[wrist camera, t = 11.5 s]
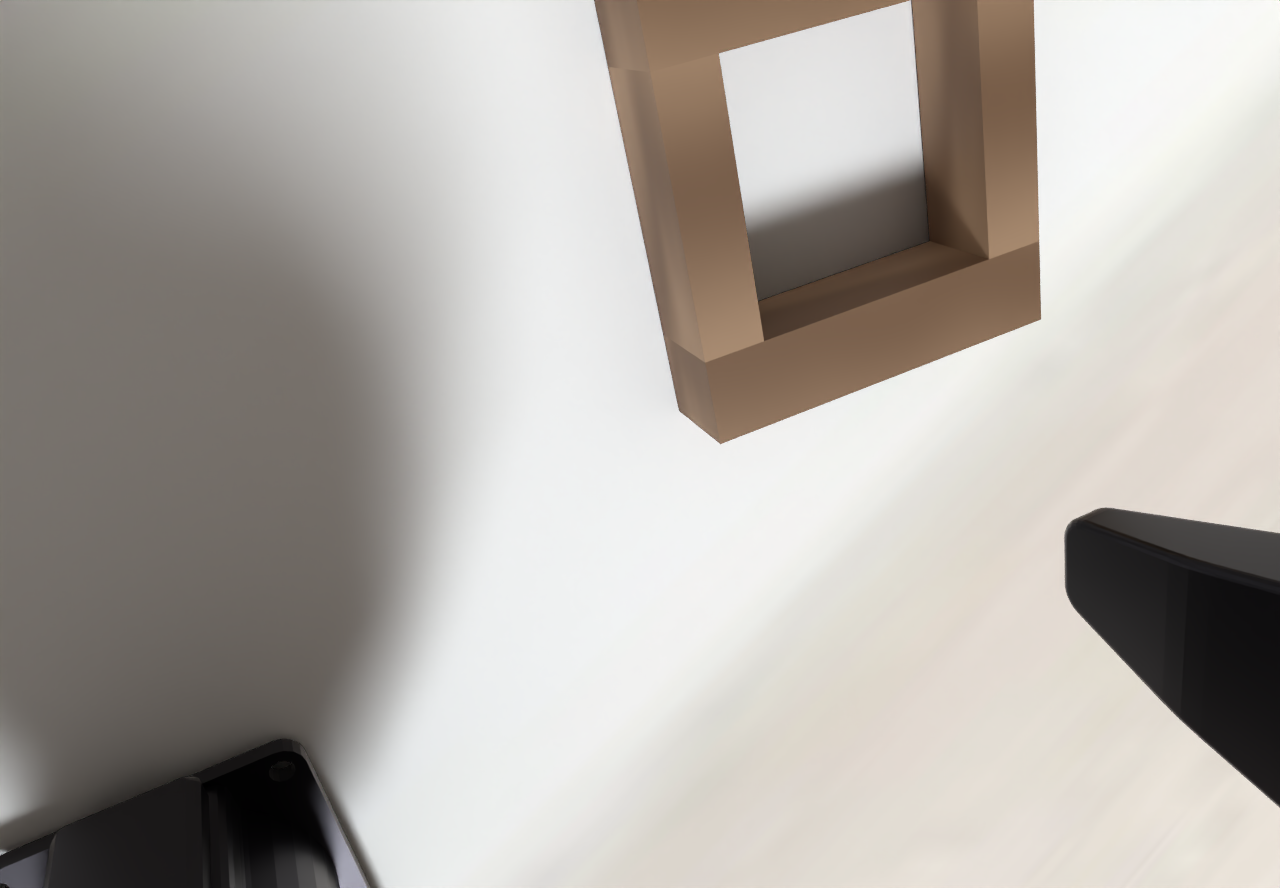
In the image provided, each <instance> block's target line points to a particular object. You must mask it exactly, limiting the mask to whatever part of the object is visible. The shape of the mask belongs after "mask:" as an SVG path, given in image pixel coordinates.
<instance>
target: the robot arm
mask: <svg viewBox="0 0 1280 888" xmlns="http://www.w3.org/2000/svg"><path fill="white" fill-rule="evenodd" d="M1064 545H1065V589H1066V593H1067V596H1068V598H1069V600H1070V602H1071V604H1072V605H1073V607H1074V608H1075V610H1076V611H1077V612H1078V613H1079V614H1080V615H1081V617H1082V618H1083V619H1084V620H1085V621H1086V622H1087V623H1088V624H1089V625H1090V626H1091V627H1092V628H1093V629H1094V630H1095V631H1096V632H1097V633H1098V634H1099V636H1100V637H1101V638H1102V639H1103V640H1104V641H1105V642H1106V643H1107V644H1108V645H1109V646H1110V647H1111V648H1112V649H1113V650H1114V651H1115V652H1116V653H1117V655H1118V656H1119V657H1120V658H1121V659H1122V660H1123V661H1124V662H1125V663H1126V664H1127V665H1128V666H1129V667H1130V668H1131V669H1132V670H1133V671H1134V672H1135V674H1136V675H1137V676H1138V677H1139V678H1140V679H1141V680H1142V681H1143V682H1144V683H1145V684H1146V685H1147V686H1148V687H1149V688H1150V689H1151V690H1152V691H1153V693H1154V694H1155V695H1156V696H1157V697H1158V698H1159V699H1160V700H1161V701H1162V702H1163V703H1164V704H1165V705H1166V706H1167V707H1168V708H1169V709H1170V710H1171V711H1172V712H1173V713H1174V714H1175V715H1176V716H1177V717H1178V718H1179V719H1180V720H1181V721H1182V722H1183V723H1184V724H1185V725H1187V726H1188V727H1189V728H1190V729H1191V730H1192V731H1193V732H1194V733H1195V734H1196V735H1198V736H1199V737H1200V738H1201V739H1202V740H1203V741H1204V742H1205V743H1207V744H1208V745H1209V746H1210V747H1211V748H1212V749H1213V750H1215V751H1216V752H1217V753H1218V754H1219V755H1220V756H1221V757H1223V758H1224V759H1225V760H1226V761H1227V762H1228V763H1229V764H1231V765H1232V766H1233V767H1234V768H1235V769H1236V770H1237V771H1239V772H1240V773H1241V774H1242V775H1243V776H1244V777H1245V778H1247V779H1248V780H1249V781H1250V782H1251V783H1252V784H1253V785H1255V786H1256V787H1257V788H1258V789H1259V790H1260V791H1261V792H1263V793H1264V794H1265V795H1266V796H1267V797H1268V798H1270V799H1271V800H1272V801H1273V802H1274V803H1275V804H1276V805H1278V806H1279V807H1280V533H1274V532H1267V531H1261V530H1254V529H1247V528H1241V527H1234V526H1227V525H1221V524H1214V523H1207V522H1201V521H1194V520H1187V519H1181V518H1174V517H1167V516H1161V515H1154V514H1147V513H1141V512H1134V511H1128V510H1121V509H1114V508H1100V509H1096V510H1094V511H1092V512H1090V513H1087V514H1085V515H1083V516H1081V517H1079V518H1076V519H1074V520H1073V521H1071V522H1070V523H1069V524H1068V526H1067V528H1066V530H1065V536H1064ZM280 761H289V762H291V765H289V766H288V767H286V768H284V769H279V770H278V769H274V768H272V766H273V765H274V764H276V763H277V762H280ZM0 883H2V884H6V885H7V886H8V887H6V888H371V887H370V885H369V883H368V881H367V879H366V877H365V875H364V873H363V871H362V868H361V866H360V864H359V862H358V860H357V858H356V856H355V854H354V852H353V850H352V847H351V845H350V843H349V841H348V839H347V837H346V835H345V833H344V831H343V829H342V827H341V824H340V822H339V820H338V818H337V816H336V814H335V812H334V810H333V808H332V806H331V803H330V801H329V799H328V797H327V795H326V793H325V791H324V789H323V787H322V785H321V783H320V780H319V778H318V776H317V774H316V772H315V770H314V768H313V766H312V764H311V762H310V760H309V757H308V755H307V753H306V751H305V749H304V748H303V747H302V745H301V744H300V743H298V742H296V741H294V740H291V739H280V740H276V741H272V742H270V743H267V744H265V745H262V746H260V747H258V748H255V749H253V750H250V751H248V752H246V753H243V754H241V755H239V756H236V757H234V758H231V759H229V760H227V761H224V762H222V763H220V764H217V765H215V766H212V767H210V768H208V769H205V770H203V771H201V772H198V773H196V774H193V775H191V776H189V777H182V778H179V779H177V780H175V781H172V782H170V783H168V784H165V785H163V786H160V787H158V788H156V789H153V790H151V791H148V792H146V793H144V794H141V795H139V796H137V797H134V798H132V799H129V800H127V801H125V802H122V803H120V804H118V805H115V806H113V807H110V808H108V809H106V810H103V811H101V812H98V813H96V814H94V815H91V816H89V817H87V818H84V819H82V820H79V821H77V822H75V823H72V824H70V825H67V826H65V827H63V828H61V829H59V830H58V831H57V832H55V833H53V834H51V835H48V836H46V837H43V838H41V839H39V840H36V841H34V842H32V843H29V844H27V845H24V846H22V847H20V848H17V849H15V850H13V851H10V852H8V853H5V854H3V855H1V856H0Z"/></svg>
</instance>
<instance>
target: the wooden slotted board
mask: <svg viewBox="0 0 1280 888" xmlns="http://www.w3.org/2000/svg"><path fill="white" fill-rule="evenodd" d="M594 1H595V6H596V11H597V15H598V20H599V25H600V30H601V35H602V40H603V44H604V49H605V54H606V59H607V64H608V69H609V73H610V78H611V83H612V88H613V93H614V98H615V102H616V107H617V112H618V117H619V122H620V127H621V131H622V136H623V141H624V146H625V151H626V156H627V161H628V165H629V170H630V175H631V180H632V185H633V190H634V194H635V199H636V204H637V209H638V214H639V219H640V223H641V228H642V233H643V238H644V243H645V248H646V252H647V257H648V262H649V267H650V272H651V277H652V281H653V286H654V291H655V296H656V301H657V306H658V310H659V315H660V320H661V325H662V330H663V335H664V340H665V344H666V349H667V354H668V359H669V364H670V369H671V373H672V378H673V383H674V388H675V393H676V398H677V402H678V407H679V411H680V412H681V413H683V414H684V415H685V416H686V417H688V418H689V419H690V420H691V421H693V422H694V423H695V424H696V425H698V426H699V427H700V428H701V429H702V430H704V431H705V432H706V433H707V434H709V435H710V436H711V437H712V438H714V439H715V440H716V441H717V442H719V443H720V444H722V443H724V442H727V441H729V440H732V439H735V438H737V437H740V436H742V435H745V434H747V433H750V432H753V431H755V430H758V429H760V428H763V427H765V426H768V425H771V424H773V423H776V422H778V421H781V420H783V419H786V418H789V417H791V416H794V415H796V414H799V413H801V412H804V411H807V410H809V409H812V408H814V407H817V406H819V405H822V404H825V403H827V402H830V401H832V400H835V399H837V398H840V397H843V396H845V395H848V394H850V393H853V392H855V391H858V390H861V389H863V388H866V387H868V386H871V385H873V384H876V383H879V382H881V381H884V380H886V379H889V378H891V377H894V376H897V375H899V374H902V373H904V372H907V371H909V370H912V369H915V368H917V367H920V366H922V365H925V364H927V363H930V362H933V361H935V360H938V359H940V358H943V357H945V356H948V355H951V354H953V353H956V352H958V351H961V350H963V349H966V348H969V347H971V346H974V345H976V344H979V343H981V342H984V341H987V340H989V339H992V338H994V337H997V336H999V335H1002V334H1004V333H1007V332H1010V331H1012V330H1015V329H1017V328H1020V327H1022V326H1025V325H1028V324H1030V323H1033V322H1035V321H1038V320H1040V319H1041V301H1040V258H1039V214H1038V171H1037V127H1036V84H1035V41H1034V0H912V8H913V21H914V35H915V48H916V62H917V76H918V89H919V103H920V116H921V130H922V143H923V157H924V170H925V184H926V197H927V211H928V224H929V238H930V241H929V242H926V243H923V244H920V245H917V246H914V247H911V248H909V249H906V250H903V251H900V252H897V253H894V254H892V255H889V256H886V257H883V258H880V259H877V260H875V261H872V262H869V263H866V264H863V265H860V266H857V267H855V268H852V269H849V270H846V271H843V272H840V273H838V274H835V275H832V276H829V277H826V278H823V279H821V280H818V281H815V282H812V283H809V284H806V285H804V286H801V287H798V288H795V289H792V290H789V291H786V292H784V293H781V294H778V295H775V296H772V297H769V298H767V299H764V300H761V301H758V299H757V293H756V287H755V280H754V274H753V268H752V261H751V255H750V249H749V243H748V236H747V230H746V224H745V217H744V211H743V205H742V198H741V192H740V186H739V179H738V173H737V167H736V160H735V154H734V148H733V141H732V135H731V129H730V122H729V116H728V110H727V104H726V97H725V91H724V85H723V78H722V72H721V66H720V59H719V53H721V52H725V51H729V50H732V49H736V48H740V47H743V46H747V45H750V44H754V43H758V42H761V41H765V40H768V39H772V38H776V37H779V36H783V35H786V34H790V33H794V32H797V31H801V30H805V29H808V28H812V27H815V26H819V25H823V24H826V23H830V22H833V21H837V20H841V19H844V18H848V17H851V16H855V15H859V14H862V13H866V12H870V11H873V10H877V9H880V8H884V7H888V6H891V5H895V4H898V3H902V2H906V1H909V0H594Z"/></svg>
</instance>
